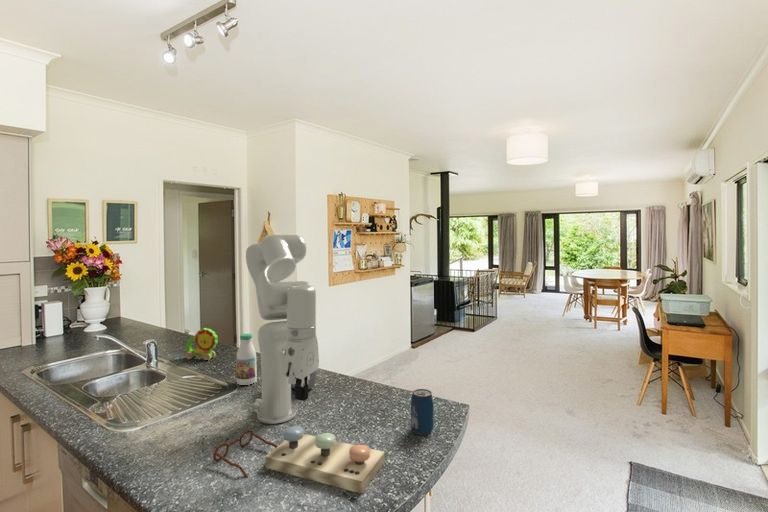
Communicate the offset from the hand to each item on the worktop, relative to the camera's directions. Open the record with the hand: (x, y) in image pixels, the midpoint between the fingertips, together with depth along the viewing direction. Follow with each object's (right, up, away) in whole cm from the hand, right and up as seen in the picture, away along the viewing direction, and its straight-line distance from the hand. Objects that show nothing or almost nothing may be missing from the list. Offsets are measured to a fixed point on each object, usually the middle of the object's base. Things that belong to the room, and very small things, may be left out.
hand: (301, 398), depth 109 cm
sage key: (+7, -11, -3) cm, 13 cm away
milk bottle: (-34, -14, +57) cm, 67 cm away
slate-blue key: (-2, -11, +1) cm, 11 cm away
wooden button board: (+7, -17, -2) cm, 18 cm away
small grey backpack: (-11, -14, +51) cm, 54 cm away
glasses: (-14, -17, +1) cm, 22 cm away
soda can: (+34, -16, +17) cm, 41 cm away
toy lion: (-66, -12, +88) cm, 111 cm away
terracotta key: (+16, -12, -6) cm, 21 cm away
